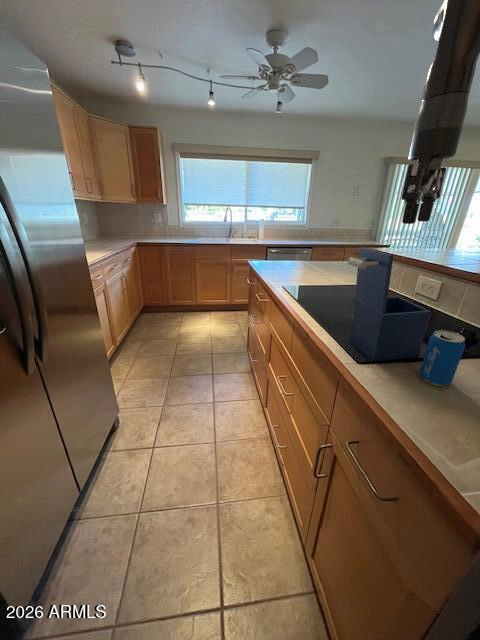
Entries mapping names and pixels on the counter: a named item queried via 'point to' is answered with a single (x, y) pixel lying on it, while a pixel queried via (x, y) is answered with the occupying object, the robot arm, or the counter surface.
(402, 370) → the counter surface
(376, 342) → the box
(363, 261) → the lid
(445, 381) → the beverage can
